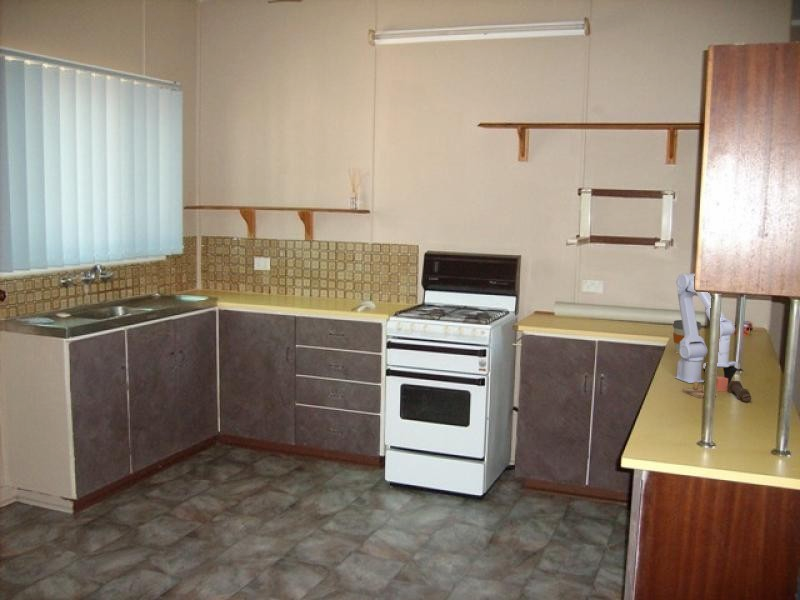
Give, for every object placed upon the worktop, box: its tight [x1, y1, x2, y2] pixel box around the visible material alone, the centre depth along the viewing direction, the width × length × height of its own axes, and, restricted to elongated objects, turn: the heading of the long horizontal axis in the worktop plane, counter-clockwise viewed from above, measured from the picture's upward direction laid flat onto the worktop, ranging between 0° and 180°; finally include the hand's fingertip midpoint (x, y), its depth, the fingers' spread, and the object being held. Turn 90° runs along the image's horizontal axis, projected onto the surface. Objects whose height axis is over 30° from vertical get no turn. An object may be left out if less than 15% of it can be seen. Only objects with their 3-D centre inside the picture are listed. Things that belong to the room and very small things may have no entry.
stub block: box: [681, 382, 718, 399], centre depth 303 cm, size 10×8×4 cm
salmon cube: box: [715, 375, 728, 392], centre depth 311 cm, size 5×5×5 cm
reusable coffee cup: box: [672, 319, 702, 353], centre depth 379 cm, size 13×13×15 cm
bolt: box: [727, 380, 752, 403], centre depth 300 cm, size 6×5×15 cm
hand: (718, 385), depth 311 cm, fingers open, 7 cm apart
